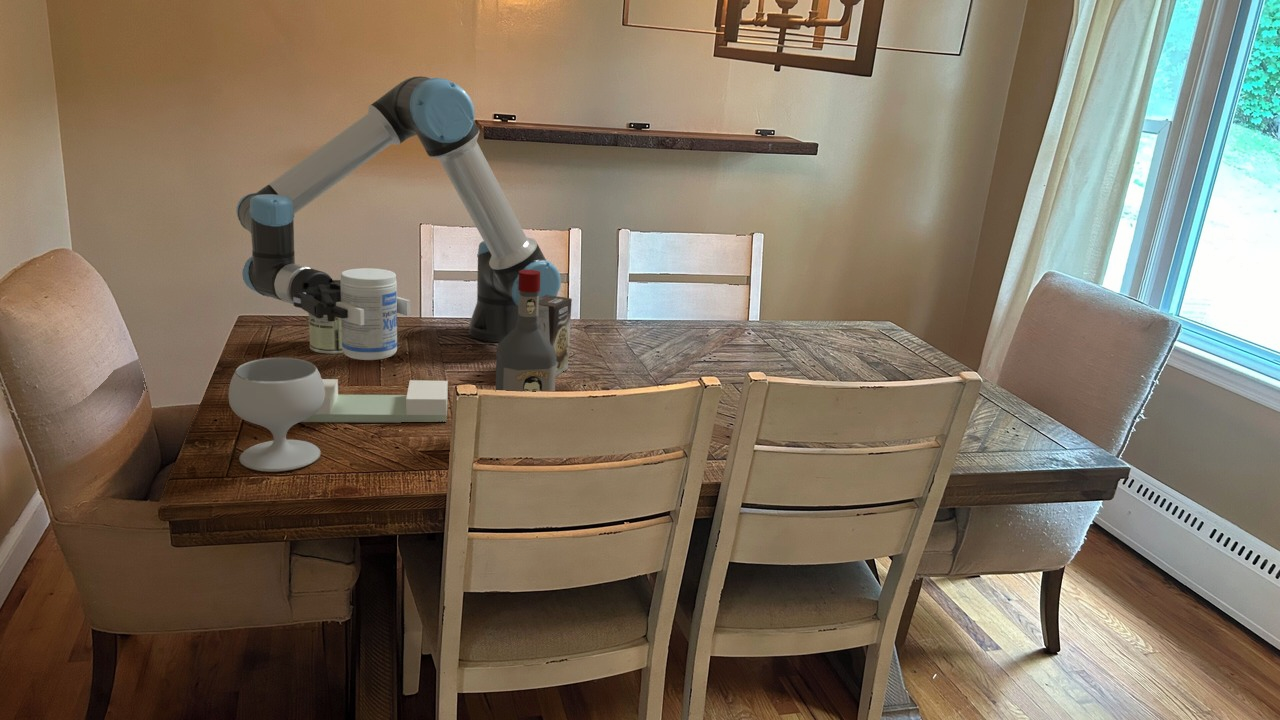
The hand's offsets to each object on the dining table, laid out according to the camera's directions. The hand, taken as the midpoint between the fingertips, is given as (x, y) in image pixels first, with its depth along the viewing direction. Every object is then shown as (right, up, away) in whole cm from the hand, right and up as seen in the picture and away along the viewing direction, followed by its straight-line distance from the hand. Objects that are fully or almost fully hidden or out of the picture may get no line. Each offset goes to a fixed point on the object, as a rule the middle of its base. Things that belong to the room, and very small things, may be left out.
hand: (386, 312), depth 156 cm
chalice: (-13, -24, -12) cm, 30 cm away
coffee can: (-24, -6, +43) cm, 49 cm away
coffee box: (+24, -11, +37) cm, 46 cm away
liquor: (+24, -22, +2) cm, 33 cm away
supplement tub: (-4, -7, +5) cm, 10 cm away
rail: (-5, -18, +8) cm, 20 cm away
